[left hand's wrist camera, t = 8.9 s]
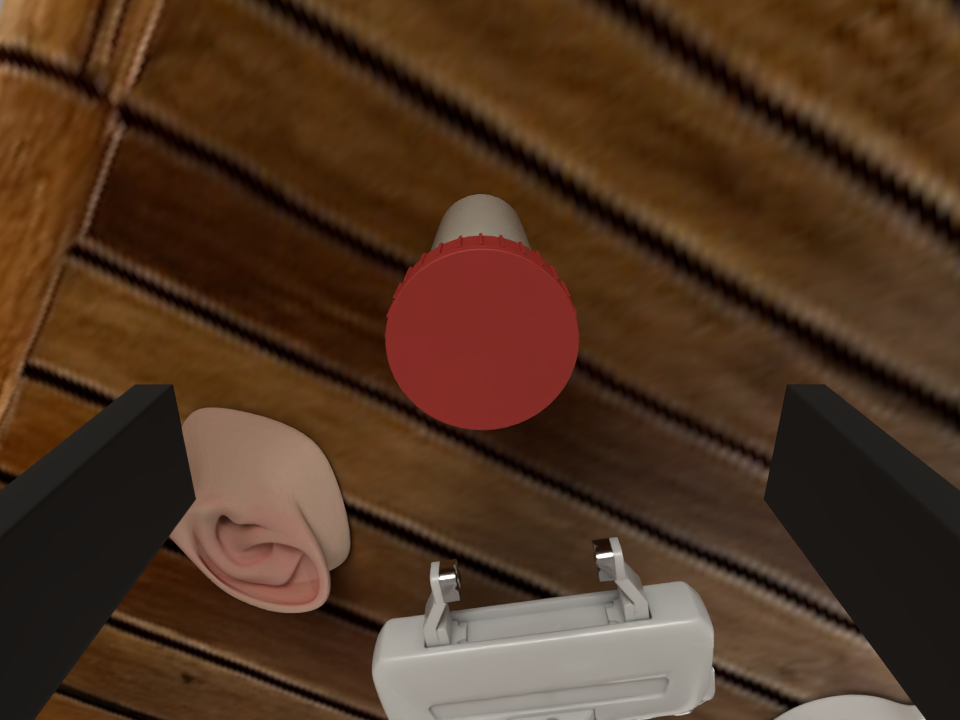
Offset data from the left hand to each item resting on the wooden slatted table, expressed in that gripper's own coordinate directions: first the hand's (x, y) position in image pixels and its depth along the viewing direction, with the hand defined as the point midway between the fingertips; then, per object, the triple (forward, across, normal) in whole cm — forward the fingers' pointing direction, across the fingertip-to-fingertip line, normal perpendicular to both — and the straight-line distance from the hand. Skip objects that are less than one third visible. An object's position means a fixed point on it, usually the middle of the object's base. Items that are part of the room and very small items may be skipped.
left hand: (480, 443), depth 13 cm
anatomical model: (+23, +14, +17) cm, 32 cm away
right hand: (+17, -2, +17) cm, 24 cm away
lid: (+7, 0, 0) cm, 7 cm away
